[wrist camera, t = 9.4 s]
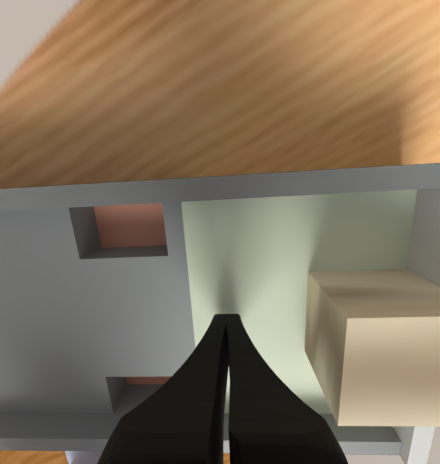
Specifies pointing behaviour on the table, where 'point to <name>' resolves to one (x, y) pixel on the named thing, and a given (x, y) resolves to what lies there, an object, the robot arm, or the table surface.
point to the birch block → (375, 346)
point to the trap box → (189, 288)
